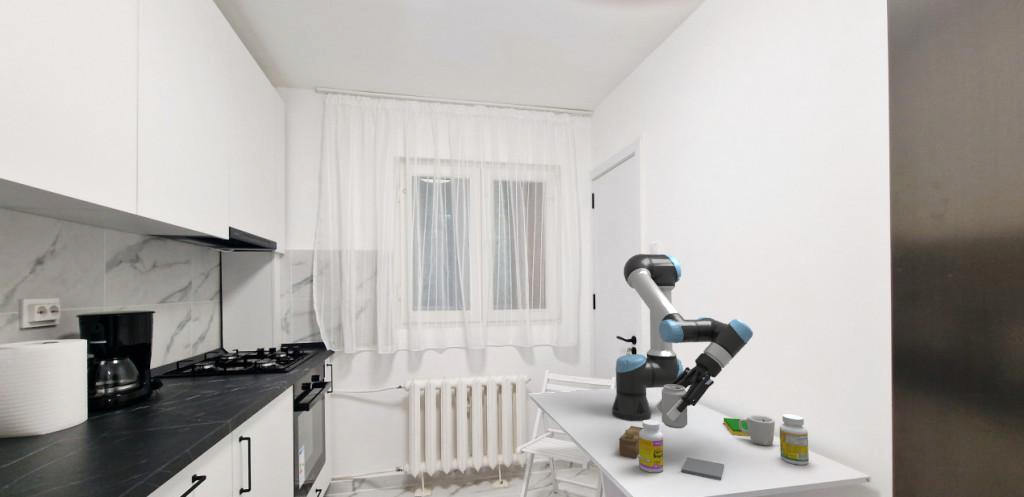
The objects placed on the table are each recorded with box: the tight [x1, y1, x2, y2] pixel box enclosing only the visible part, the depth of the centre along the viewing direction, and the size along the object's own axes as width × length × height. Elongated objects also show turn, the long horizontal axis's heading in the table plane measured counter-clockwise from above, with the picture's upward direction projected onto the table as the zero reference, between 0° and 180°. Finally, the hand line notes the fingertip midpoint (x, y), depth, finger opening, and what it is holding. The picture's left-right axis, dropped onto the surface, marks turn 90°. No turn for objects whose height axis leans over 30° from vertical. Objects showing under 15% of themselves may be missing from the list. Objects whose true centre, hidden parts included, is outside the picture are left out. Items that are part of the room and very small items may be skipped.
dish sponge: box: [723, 417, 750, 437], centre depth 160 cm, size 7×14×2 cm, turn 167°
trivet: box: [681, 456, 725, 481], centre depth 125 cm, size 10×10×1 cm
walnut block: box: [618, 425, 643, 460], centre depth 140 cm, size 14×5×7 cm, turn 150°
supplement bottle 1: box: [638, 419, 664, 473], centre depth 126 cm, size 7×7×13 cm
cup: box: [739, 414, 776, 446], centre depth 147 cm, size 11×8×8 cm
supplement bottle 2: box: [779, 413, 810, 466], centre depth 132 cm, size 7×7×13 cm
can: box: [661, 384, 688, 429], centre depth 137 cm, size 8×8×12 cm
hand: (663, 413), depth 137 cm, fingers closed on can, 7 cm apart
